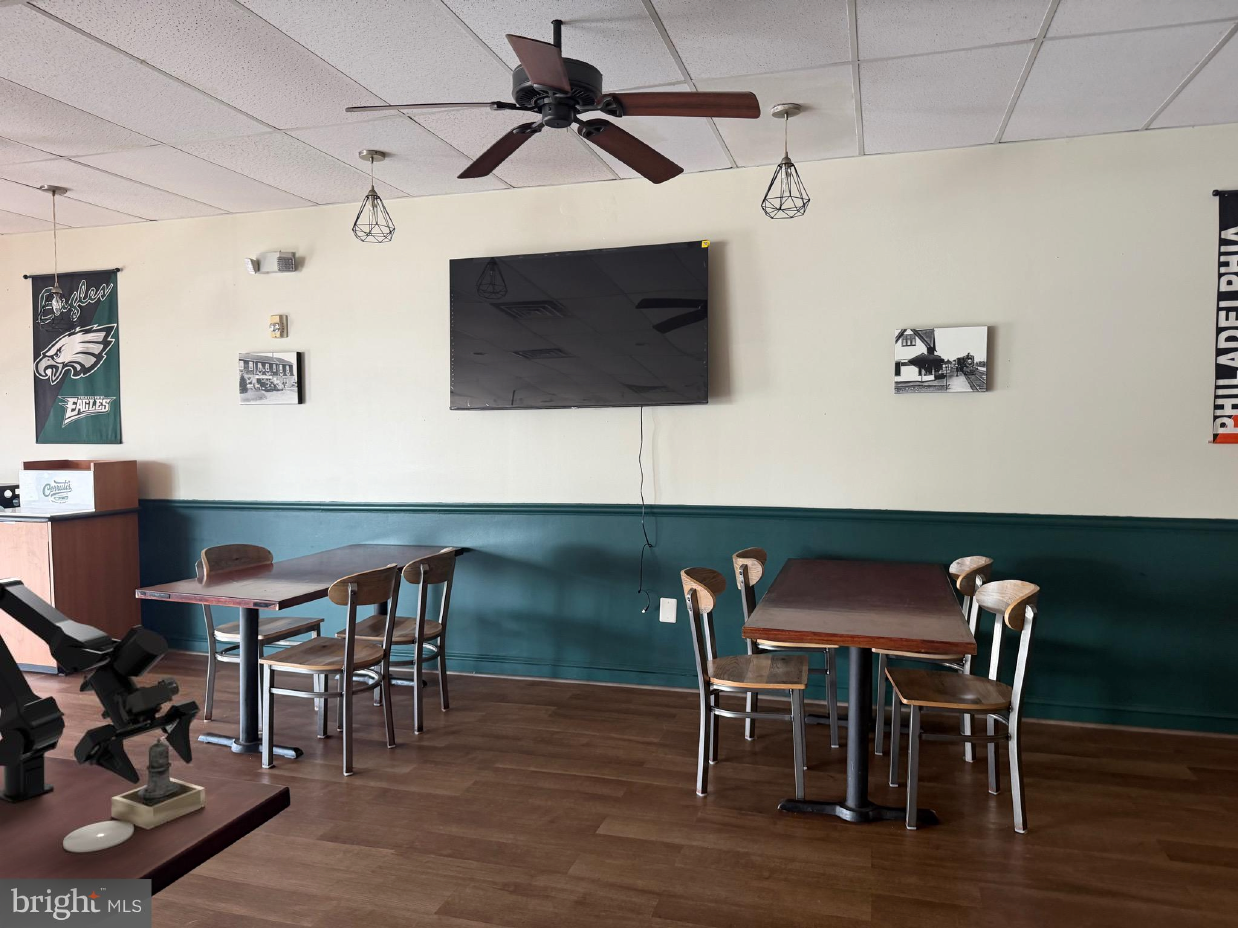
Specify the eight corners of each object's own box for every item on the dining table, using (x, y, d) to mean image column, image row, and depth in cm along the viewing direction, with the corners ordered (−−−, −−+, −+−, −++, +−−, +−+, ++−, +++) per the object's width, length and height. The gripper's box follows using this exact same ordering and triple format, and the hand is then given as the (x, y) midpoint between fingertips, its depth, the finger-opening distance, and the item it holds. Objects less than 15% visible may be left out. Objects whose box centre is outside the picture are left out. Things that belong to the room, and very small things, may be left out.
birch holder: (111, 816, 131) (111, 797, 131) (168, 794, 139) (168, 776, 139) (148, 829, 126) (148, 810, 126) (204, 805, 135) (204, 787, 135)
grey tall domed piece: (161, 820, 129) (161, 745, 129) (129, 817, 130) (129, 742, 130) (187, 805, 135) (187, 733, 135) (156, 801, 136) (156, 730, 136)
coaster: (50, 843, 121) (50, 839, 121) (111, 819, 129) (111, 815, 129) (85, 857, 117) (85, 853, 117) (146, 832, 125) (146, 828, 125)
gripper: (85, 679, 126) (132, 761, 121) (193, 652, 143) (238, 724, 138) (53, 722, 129) (98, 805, 124) (163, 692, 146) (206, 763, 141)
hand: (164, 771), depth 132 cm, fingers open, 9 cm apart
